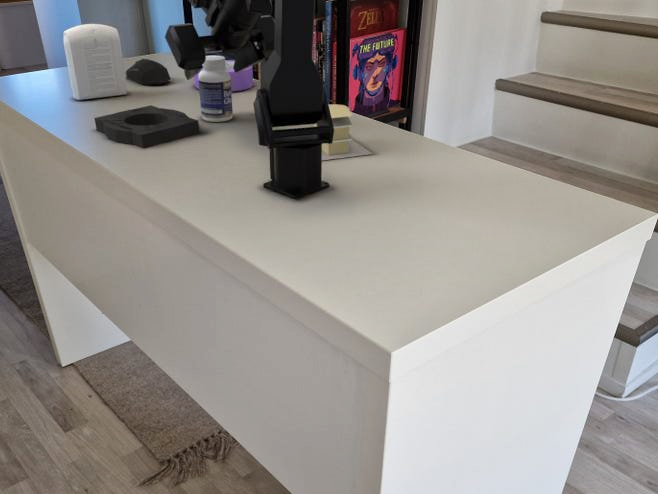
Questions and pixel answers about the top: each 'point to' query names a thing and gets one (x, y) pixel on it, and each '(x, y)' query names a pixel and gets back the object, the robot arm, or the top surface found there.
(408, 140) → the top surface
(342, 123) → the stacked layers on plate
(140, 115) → the pad
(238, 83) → the tape roll
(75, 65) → the white upright block
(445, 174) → the top surface
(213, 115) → the pill bottle
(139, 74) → the gaming mouse
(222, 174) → the top surface
